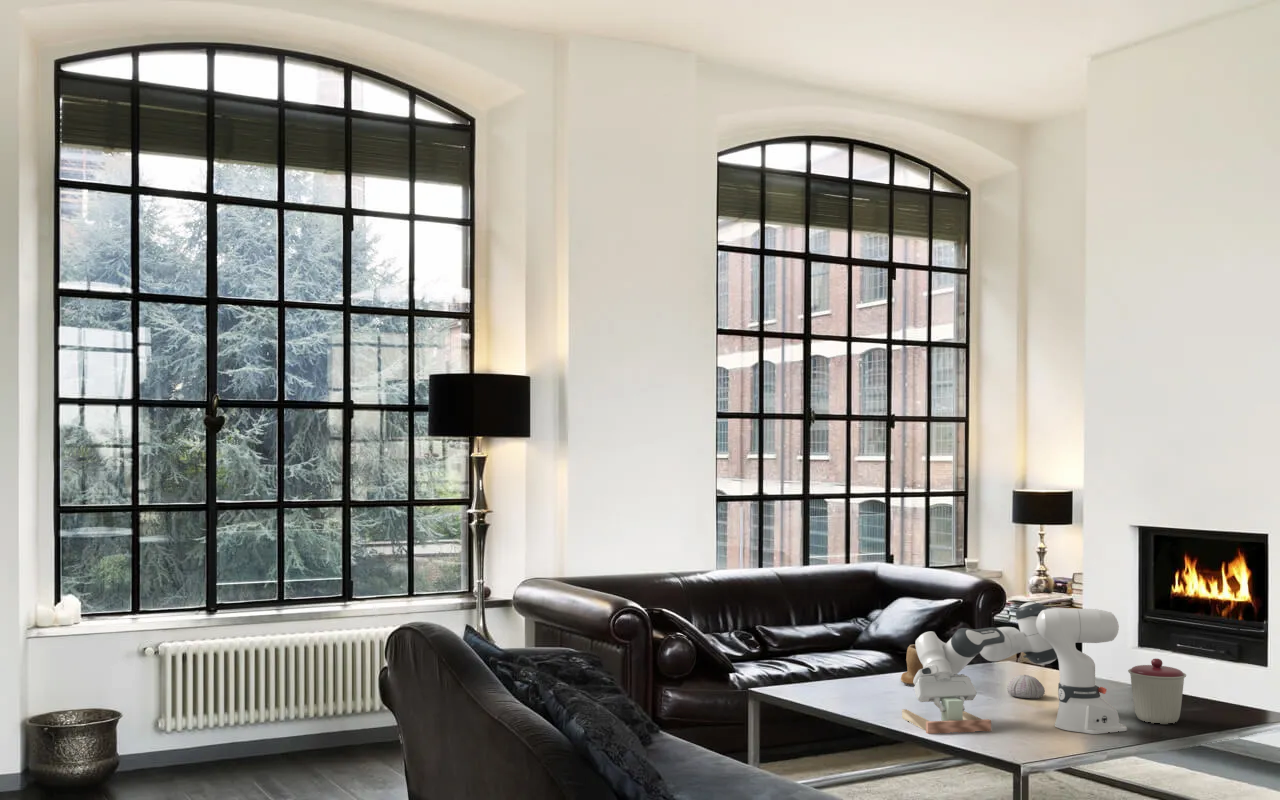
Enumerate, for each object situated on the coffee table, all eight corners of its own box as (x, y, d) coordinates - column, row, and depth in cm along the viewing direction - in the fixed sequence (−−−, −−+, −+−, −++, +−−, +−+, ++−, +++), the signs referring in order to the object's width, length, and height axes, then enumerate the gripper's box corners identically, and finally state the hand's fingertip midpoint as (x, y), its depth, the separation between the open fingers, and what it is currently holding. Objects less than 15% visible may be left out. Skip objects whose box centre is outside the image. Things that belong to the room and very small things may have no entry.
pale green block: (955, 722, 387) (955, 697, 387) (962, 725, 382) (962, 700, 382) (941, 722, 386) (941, 698, 386) (948, 726, 381) (948, 701, 381)
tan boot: (930, 688, 452) (930, 648, 453) (899, 686, 455) (899, 646, 456) (932, 681, 466) (932, 643, 467) (902, 679, 470) (902, 641, 471)
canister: (1120, 714, 408) (1120, 653, 409) (1174, 716, 407) (1173, 654, 408) (1139, 726, 390) (1139, 662, 391) (1195, 728, 389) (1195, 663, 390)
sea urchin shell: (1005, 692, 446) (1005, 671, 446) (1042, 694, 443) (1042, 672, 443) (1008, 699, 433) (1008, 677, 433) (1047, 701, 430) (1047, 679, 430)
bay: (959, 716, 402) (959, 706, 402) (991, 731, 380) (991, 720, 381) (899, 718, 398) (899, 708, 398) (927, 733, 376) (927, 722, 376)
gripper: (964, 679, 398) (978, 715, 388) (908, 681, 393) (921, 717, 383) (971, 668, 393) (985, 704, 383) (914, 670, 389) (927, 706, 379)
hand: (952, 710), depth 383 cm, fingers closed on pale green block, 5 cm apart
